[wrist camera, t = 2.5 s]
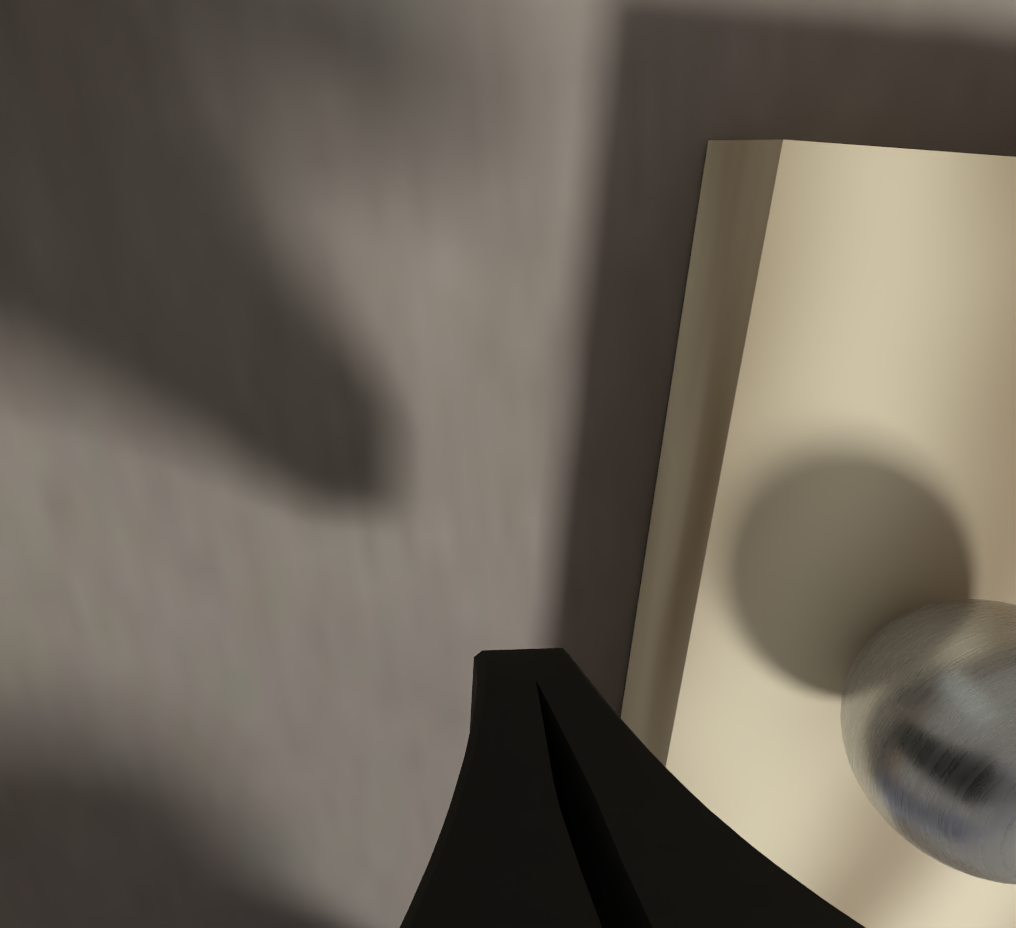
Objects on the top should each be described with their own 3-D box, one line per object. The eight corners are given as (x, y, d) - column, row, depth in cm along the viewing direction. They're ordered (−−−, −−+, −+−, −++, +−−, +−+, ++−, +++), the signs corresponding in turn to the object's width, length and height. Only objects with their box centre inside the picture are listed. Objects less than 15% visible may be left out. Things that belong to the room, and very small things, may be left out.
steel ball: (774, 746, 14) (911, 966, 10) (823, 553, 12) (1007, 729, 8) (971, 736, 14) (1169, 939, 11) (1042, 550, 13) (1303, 713, 9)
